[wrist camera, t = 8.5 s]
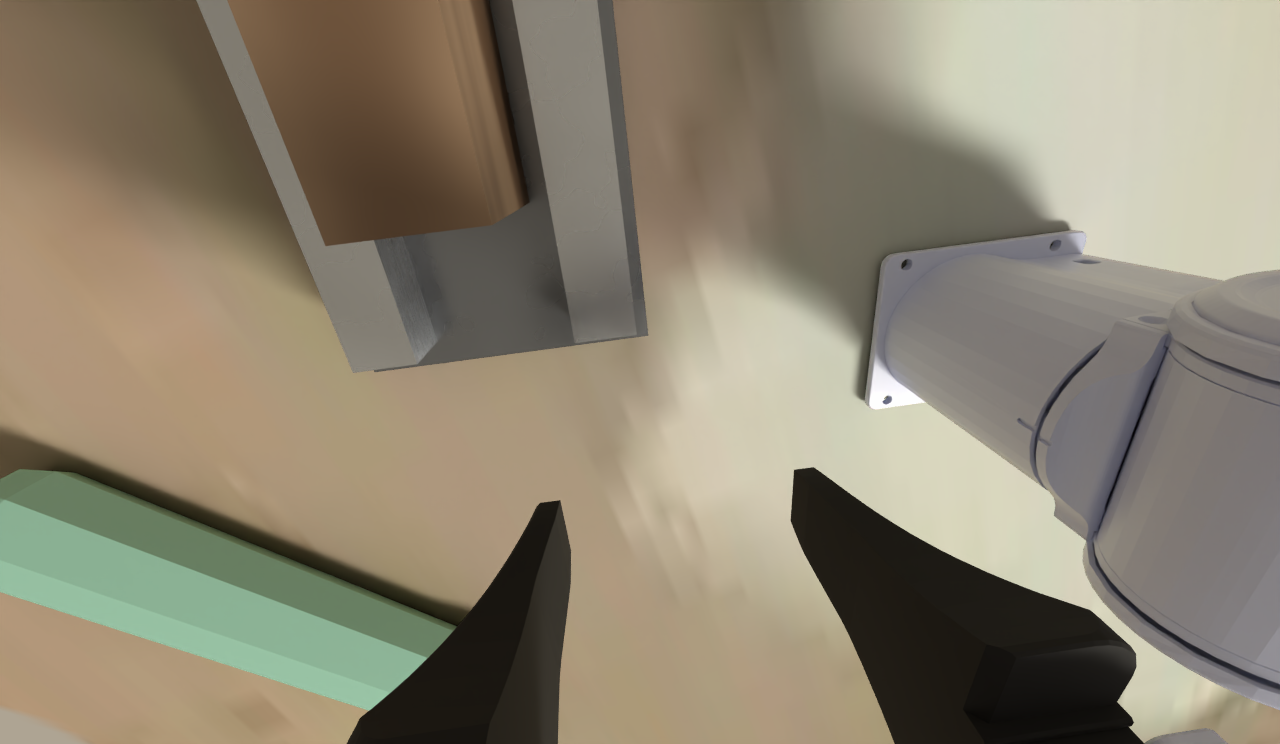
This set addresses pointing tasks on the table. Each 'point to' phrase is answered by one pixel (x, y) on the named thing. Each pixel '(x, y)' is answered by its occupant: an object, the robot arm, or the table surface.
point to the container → (203, 590)
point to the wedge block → (389, 112)
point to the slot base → (511, 248)
